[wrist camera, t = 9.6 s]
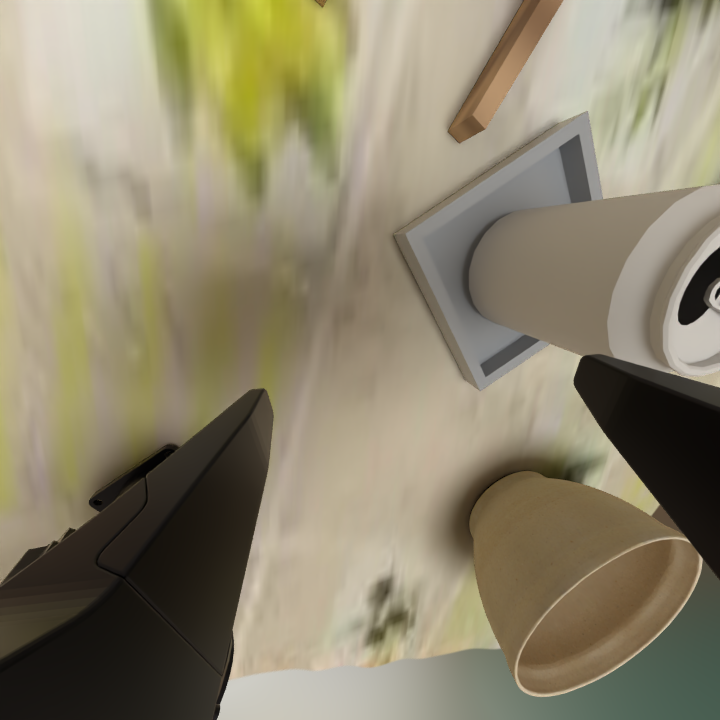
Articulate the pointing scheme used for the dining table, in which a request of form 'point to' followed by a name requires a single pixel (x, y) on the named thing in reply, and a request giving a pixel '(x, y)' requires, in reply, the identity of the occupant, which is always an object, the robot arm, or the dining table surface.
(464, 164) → the dining table surface
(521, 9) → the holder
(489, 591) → the planter bowl
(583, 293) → the can
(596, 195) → the tray
